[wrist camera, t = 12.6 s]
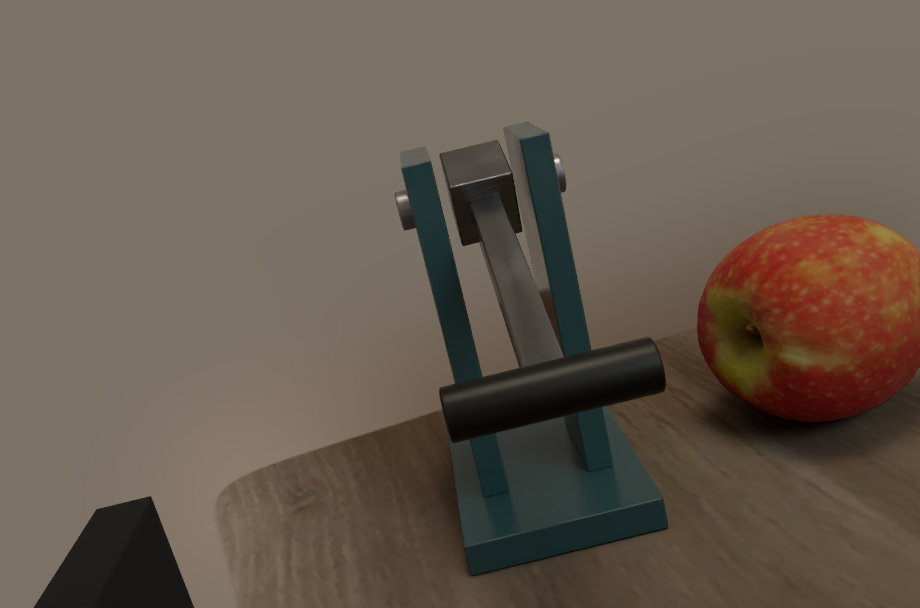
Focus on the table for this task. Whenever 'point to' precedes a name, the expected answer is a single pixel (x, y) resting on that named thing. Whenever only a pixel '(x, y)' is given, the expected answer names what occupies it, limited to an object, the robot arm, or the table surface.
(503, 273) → the switch lever
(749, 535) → the table surface
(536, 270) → the switch bracket
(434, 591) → the table surface
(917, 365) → the apple
